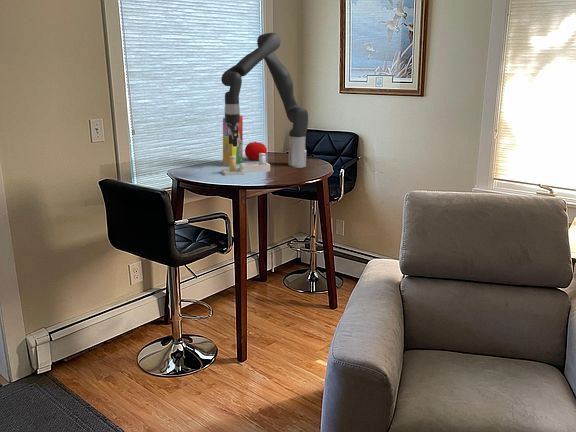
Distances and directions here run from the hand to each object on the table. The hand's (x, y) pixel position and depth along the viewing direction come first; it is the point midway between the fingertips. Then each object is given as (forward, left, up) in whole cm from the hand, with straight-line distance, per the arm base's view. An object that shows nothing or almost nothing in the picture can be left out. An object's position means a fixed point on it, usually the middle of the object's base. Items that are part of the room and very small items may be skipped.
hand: (232, 145), depth 276 cm
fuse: (-17, -4, -15) cm, 23 cm away
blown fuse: (0, 0, -15) cm, 15 cm away
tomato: (-23, -40, -16) cm, 49 cm away
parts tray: (0, 0, -16) cm, 16 cm away
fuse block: (-13, -4, -16) cm, 21 cm away
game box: (-6, -27, -16) cm, 32 cm away
